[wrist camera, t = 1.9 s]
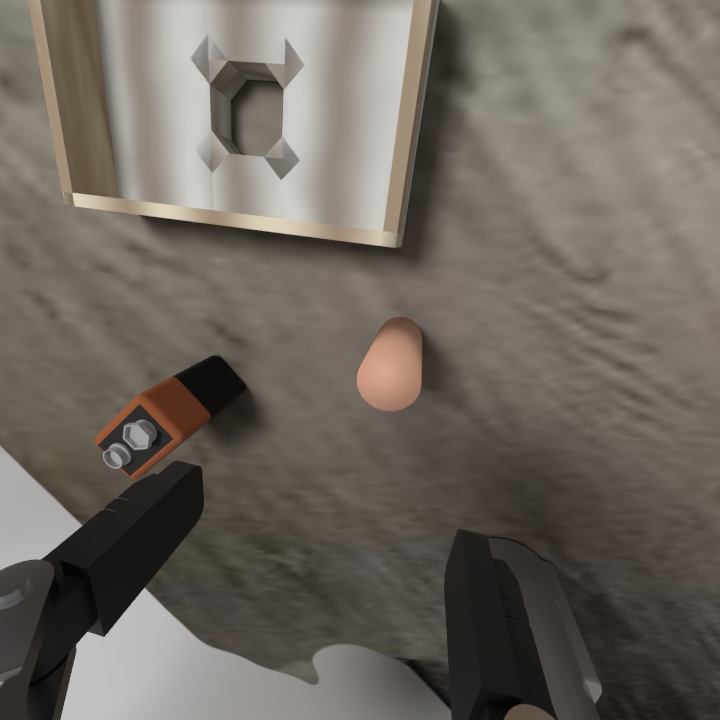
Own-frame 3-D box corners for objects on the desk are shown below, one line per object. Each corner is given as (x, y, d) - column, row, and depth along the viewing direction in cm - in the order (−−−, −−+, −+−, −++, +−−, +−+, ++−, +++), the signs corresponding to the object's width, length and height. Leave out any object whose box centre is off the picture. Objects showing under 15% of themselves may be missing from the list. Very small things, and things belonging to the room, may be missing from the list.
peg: (426, 321, 26) (426, 357, 18) (418, 363, 27) (415, 416, 19) (381, 314, 26) (360, 346, 18) (375, 356, 28) (353, 404, 19)
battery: (249, 387, 31) (174, 448, 22) (206, 423, 33) (121, 492, 24) (217, 351, 30) (125, 399, 21) (175, 390, 33) (76, 448, 23)
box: (440, -1, 20) (445, -99, 14) (401, 247, 24) (394, 247, 19) (113, -11, 22) (11, -95, 17) (137, 212, 27) (64, 204, 22)
